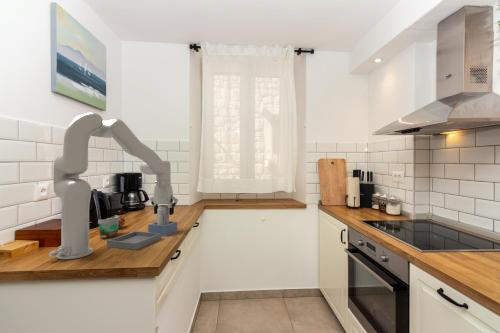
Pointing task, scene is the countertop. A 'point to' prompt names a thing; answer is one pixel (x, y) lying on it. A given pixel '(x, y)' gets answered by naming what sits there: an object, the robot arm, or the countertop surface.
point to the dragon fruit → (120, 221)
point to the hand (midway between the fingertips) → (163, 214)
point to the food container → (108, 227)
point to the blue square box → (163, 228)
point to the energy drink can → (163, 215)
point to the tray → (134, 240)
